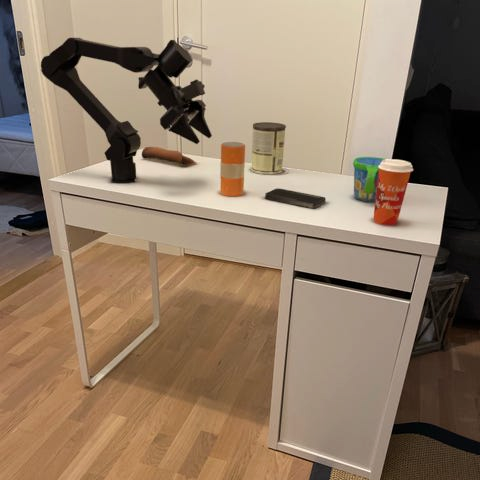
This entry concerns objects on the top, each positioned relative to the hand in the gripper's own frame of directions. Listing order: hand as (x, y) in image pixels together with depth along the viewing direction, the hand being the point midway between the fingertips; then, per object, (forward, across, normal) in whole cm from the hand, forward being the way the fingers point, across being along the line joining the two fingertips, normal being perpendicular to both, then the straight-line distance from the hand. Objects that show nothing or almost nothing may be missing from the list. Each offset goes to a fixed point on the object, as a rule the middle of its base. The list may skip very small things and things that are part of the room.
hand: (204, 140), depth 130 cm
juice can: (+15, 0, +4) cm, 16 cm away
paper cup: (+44, -8, -26) cm, 52 cm away
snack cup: (+40, +10, -22) cm, 47 cm away
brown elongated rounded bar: (-6, +28, +26) cm, 39 cm away
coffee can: (+17, +30, +2) cm, 34 cm away
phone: (+28, 0, -9) cm, 29 cm away
